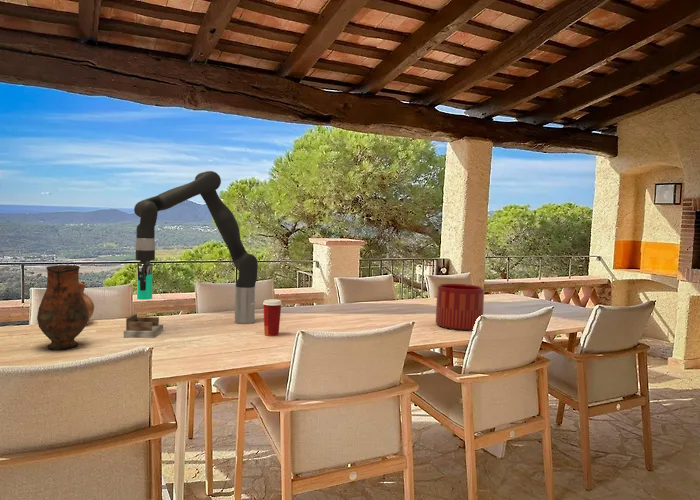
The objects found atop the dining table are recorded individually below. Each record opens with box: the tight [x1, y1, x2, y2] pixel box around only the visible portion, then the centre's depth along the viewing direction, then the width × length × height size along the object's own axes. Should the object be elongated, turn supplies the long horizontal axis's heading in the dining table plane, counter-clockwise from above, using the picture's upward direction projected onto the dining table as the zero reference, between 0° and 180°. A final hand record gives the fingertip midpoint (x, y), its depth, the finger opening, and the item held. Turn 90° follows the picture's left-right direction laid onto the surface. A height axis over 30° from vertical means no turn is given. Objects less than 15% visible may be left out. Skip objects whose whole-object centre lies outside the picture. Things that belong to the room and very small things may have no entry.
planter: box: [435, 283, 485, 331], centre depth 250 cm, size 23×23×20 cm
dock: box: [123, 313, 164, 339], centre depth 210 cm, size 12×14×8 cm
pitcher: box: [36, 264, 89, 351], centre depth 187 cm, size 17×21×30 cm
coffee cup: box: [262, 298, 283, 337], centre depth 217 cm, size 8×8×15 cm
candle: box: [136, 273, 154, 301], centre depth 209 cm, size 6×6×12 cm
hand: (144, 289), depth 210 cm, fingers closed on candle, 5 cm apart
